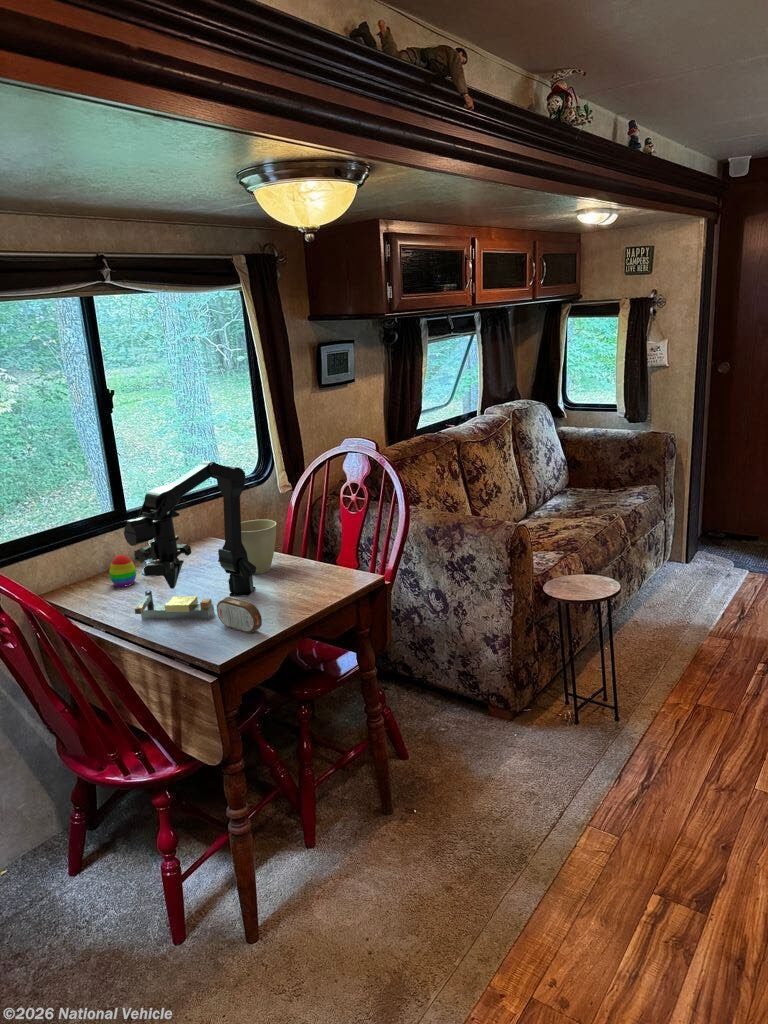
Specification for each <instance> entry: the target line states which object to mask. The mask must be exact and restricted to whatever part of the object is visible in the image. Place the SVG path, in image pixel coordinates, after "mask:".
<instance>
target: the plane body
mask: <svg viewBox="0 0 768 1024" xmlns="http://www.w3.org/2000/svg"><path fill="white" fill-rule="evenodd" d="M165 604H166V603H164V604H163V603H160V604H159V603H158V604H156V603H153V605H154V607H152V608H147V606H146V608H145V609H144V611H143V613H142V614H140V615H141V621H210V620H211V618H213V616H214V615H215V606H214V604H213V602H212V598H203V599H202V600H201V601H200V602H199V603H197V604H196V605H195V606H194V607H193V609H192V610H191V611H190V612H166V611H165Z"/></svg>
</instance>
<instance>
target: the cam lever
mask: <svg viewBox="0 0 768 1024" xmlns="http://www.w3.org/2000/svg"><path fill="white" fill-rule="evenodd" d="M152 592H153V591H152V590H146V591H144V596H143V597H142V599H141V600H140V601H139V602H138V604H137V605H136V606H135V607H134V615H141V614H142V613H143V611H144V609H145V608H146V606H147V608H152V607H154V605H153V604H154V598H153V593H152Z"/></svg>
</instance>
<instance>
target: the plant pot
mask: <svg viewBox="0 0 768 1024" xmlns="http://www.w3.org/2000/svg"><path fill="white" fill-rule="evenodd" d="M241 537H242V544H243V546H244V548H245V550H246V551H247V556H248V561H249V562H250V563H252V564H253V565H254V566H256V572H255V574H254V575H258V574H265V573H268V572H269V571H270V570H271V567H272V563H273V558H274V553H275V547H276V539H277V522H276V521H275V520H271V519H253V520H245V521H241Z"/></svg>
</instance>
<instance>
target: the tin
mask: <svg viewBox="0 0 768 1024" xmlns="http://www.w3.org/2000/svg"><path fill="white" fill-rule="evenodd" d="M216 611H217V616H218V619H219V620H220V622H221V623H222V625H224V626H225V627H226V628H230V629H232V630H236V631H240V632H243V633H246V634H252V633H254V632H255V631H257V630H259V629H260V628H261V626H262V624H263V618H262V615H261V612H260V611H259V609H258V607H256V605H255V604H254V603H252V602H250V601H248V600H247V601H246V600H243V599H240V598H235V597H233V596H226V597H225V598H223V599H222V600H219V602H218V603H217V604H216Z"/></svg>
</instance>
